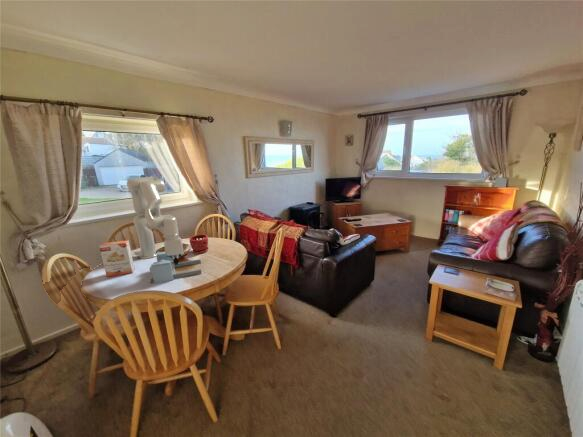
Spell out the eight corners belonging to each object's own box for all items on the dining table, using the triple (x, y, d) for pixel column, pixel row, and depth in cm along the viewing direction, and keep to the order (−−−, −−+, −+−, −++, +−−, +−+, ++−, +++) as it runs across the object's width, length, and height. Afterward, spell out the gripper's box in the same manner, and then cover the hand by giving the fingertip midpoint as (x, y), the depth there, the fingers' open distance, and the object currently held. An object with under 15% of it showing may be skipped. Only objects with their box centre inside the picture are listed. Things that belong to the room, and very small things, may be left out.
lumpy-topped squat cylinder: (153, 272, 149) (151, 260, 147) (176, 269, 153) (174, 257, 151) (150, 280, 140) (148, 267, 137) (174, 276, 144) (172, 263, 142)
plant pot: (197, 247, 189) (195, 233, 186) (212, 248, 187) (210, 234, 183) (187, 254, 177) (185, 239, 174) (203, 255, 174) (201, 240, 171)
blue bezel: (154, 283, 136) (150, 265, 133) (159, 268, 155) (156, 252, 152) (173, 280, 140) (170, 262, 137) (175, 265, 158) (173, 250, 155)
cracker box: (106, 277, 145) (98, 246, 139) (110, 273, 150) (102, 242, 145) (132, 273, 149) (125, 242, 144) (135, 269, 154) (128, 239, 149)
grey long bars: (150, 283, 137) (150, 279, 136) (155, 270, 153) (154, 266, 152) (201, 273, 147) (201, 270, 146) (200, 262, 163) (200, 259, 162)
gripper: (157, 240, 138) (162, 268, 142) (185, 236, 143) (189, 264, 148) (159, 236, 144) (164, 263, 149) (185, 233, 150) (189, 259, 154)
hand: (176, 263), depth 148 cm, fingers closed
